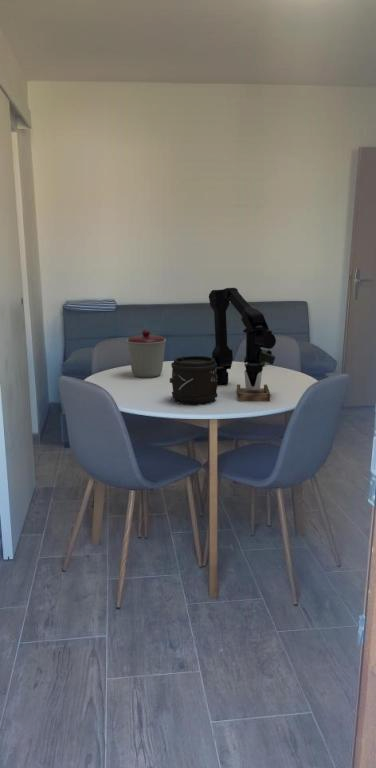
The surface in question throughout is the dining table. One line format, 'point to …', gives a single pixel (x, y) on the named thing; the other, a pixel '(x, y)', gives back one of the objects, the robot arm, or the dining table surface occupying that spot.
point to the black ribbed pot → (194, 380)
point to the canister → (146, 354)
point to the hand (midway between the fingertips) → (252, 384)
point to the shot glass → (257, 384)
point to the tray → (253, 394)
